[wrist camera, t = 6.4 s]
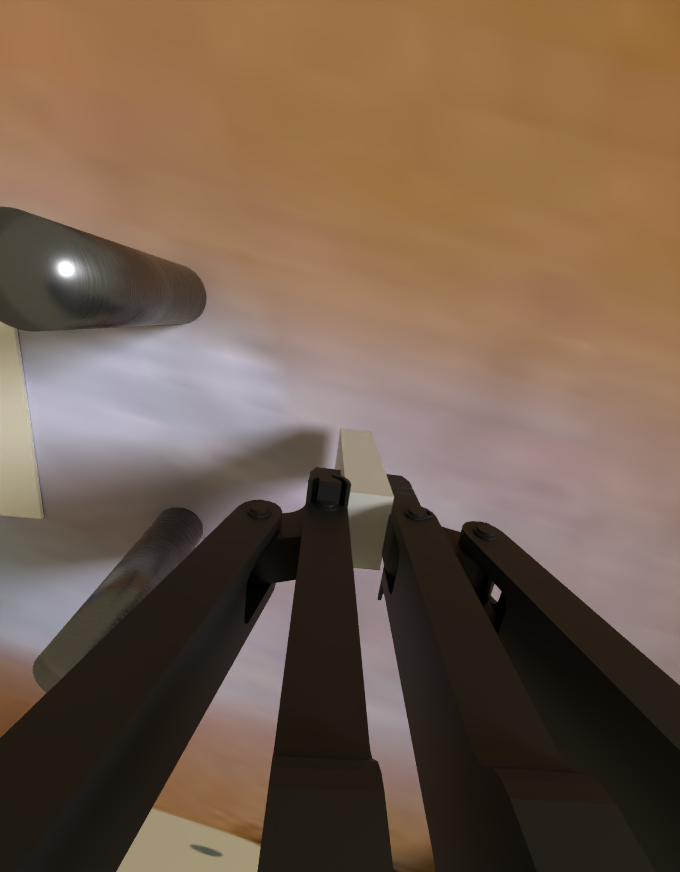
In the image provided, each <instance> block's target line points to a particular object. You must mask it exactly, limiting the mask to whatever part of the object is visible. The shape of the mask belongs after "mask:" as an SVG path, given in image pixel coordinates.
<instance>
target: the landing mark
mask: <svg viewBox="0 0 680 872" xmlns="http://www.w3.org/2000/svg"><path fill="white" fill-rule="evenodd" d="M0 515H3V516H13V517H23V518H34V519H43V518H44V513H43V506H42V499H41V492H40V485H39V478H38V470H37V463H36V456H35V449H34V442H33V435H32V428H31V421H30V414H29V407H28V400H27V393H26V386H25V379H24V372H23V365H22V358H21V351H20V344H19V337H18V330H17V329H16V328H13V327H11V326H8V325H6V324H4V323H2V322H1V321H0Z"/></svg>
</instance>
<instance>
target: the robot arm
mask: <svg viewBox="0 0 680 872" xmlns="http://www.w3.org/2000/svg"><path fill="white" fill-rule="evenodd" d="M382 557H383V562H384V569H383V574H382V579H381V584H380V589H379V593H378V600H381V598H382V595H383V594H384V595H385V601H386V606H387V611H388V617H389V622H390V627H391V633H392V638H393V643H394V649H395V654H396V659H397V665H398V670H399V675H400V680H401V686H402V691H403V696H404V702H405V707H406V712H407V718H408V723H409V728H410V734H411V739H412V744H413V750H414V755H415V760H416V766H417V771H418V776H419V782H420V787H421V792H422V798H423V803H424V808H425V814H426V819H427V824H428V830H429V835H430V840H431V846H432V851H433V856H434V863H435V872H680V685H679V684H677V683H676V682H675V681H674V680H673V679H672V678H670V677H669V676H668V675H667V674H666V673H665V672H663V671H662V670H661V669H660V668H659V667H658V666H657V665H655V664H654V663H653V662H652V661H651V660H650V659H648V658H647V657H646V656H645V655H644V654H643V653H642V652H640V651H639V650H638V649H637V648H636V647H635V646H633V645H632V644H631V643H630V642H629V641H628V640H627V639H625V638H624V637H623V636H622V635H621V634H620V633H618V632H617V631H616V630H615V629H614V628H613V627H612V626H610V625H609V624H608V623H607V622H606V621H605V620H603V619H602V618H601V617H600V616H599V615H598V614H597V613H595V612H594V611H593V610H592V609H591V608H590V607H588V606H587V605H586V604H585V603H584V602H583V601H582V600H580V599H579V598H578V597H577V596H576V595H575V594H573V593H572V592H571V591H570V590H569V589H568V588H567V587H565V586H564V585H563V584H562V583H561V582H560V581H558V580H557V579H556V578H555V577H554V576H553V575H552V574H550V573H549V572H548V571H547V570H546V569H545V568H543V567H542V566H541V565H540V564H539V563H538V562H537V561H535V560H534V559H533V558H532V557H531V556H530V555H528V554H527V553H526V552H525V551H524V550H523V549H522V548H520V547H519V546H518V545H517V544H516V543H515V542H513V541H512V540H511V539H510V538H509V537H508V536H507V535H505V534H504V533H503V532H502V531H500V530H499V529H497V528H496V527H493V526H491V525H490V524H488V523H484V522H475V521H471V522H466V523H465V524H464V525H463V527H462V530H461V532H458V531H455V530H451V529H447V528H445V527H442V526H441V525H440V523H439V521H438V519H437V517H436V516H435V515H434V514H433V512H431V511H429V510H428V509H426V508H423V507H421V505H420V503H419V501H418V499H417V497H416V495H415V493H414V491H413V490H412V486H411V484H410V482H409V481H407V480H406V479H405V478H404V477H403V476H397V475H389V474H386V472H385V469H384V467H383V464H382V461H381V458H380V455H379V452H378V449H377V447H376V444H375V441H374V438H373V435H372V432H368V431H359V430H351V429H343V428H341V429H340V436H339V443H338V450H337V458H336V465H335V469H327V468H318V467H316V468H315V469H313V470H312V471H311V472H310V478H309V480H308V489H307V497H306V504H305V506H304V507H303V508H302V509H300V510H298V511H295V512H290V513H282V510H281V508H280V507H279V506H278V505H277V504H275V503H272V502H270V501H264V500H252V501H248V502H245V503H243V504H241V505H240V506H238V507H237V508H236V509H235V510H234V511H233V512H232V513H231V514H230V515H229V516H228V517H227V518H226V519H225V520H224V521H223V522H222V523H221V524H220V525H219V526H218V527H217V528H216V529H215V530H213V531H212V532H211V533H210V534H209V535H208V536H207V537H206V538H205V539H204V540H203V541H202V542H201V543H200V544H199V545H198V546H197V547H196V548H195V549H194V550H193V551H192V552H191V553H190V554H189V555H188V556H187V557H186V558H185V559H184V560H183V561H182V562H181V563H180V564H179V565H178V566H177V567H176V568H174V569H173V570H172V571H171V572H170V573H169V574H168V575H167V576H166V577H165V578H164V579H163V580H162V581H161V582H160V583H159V584H158V585H157V586H156V587H155V588H154V589H153V590H152V591H151V592H150V593H149V594H148V595H147V596H146V597H145V598H144V599H143V600H142V601H141V602H140V603H139V604H138V605H137V606H136V607H134V608H133V609H132V610H131V611H130V612H129V613H128V614H127V615H126V616H125V617H124V618H123V619H122V620H121V621H120V622H119V623H118V624H117V625H116V626H115V627H114V628H113V629H112V630H111V631H110V632H109V633H108V634H107V635H106V636H105V637H104V638H103V639H102V640H101V641H100V642H99V643H98V644H97V645H95V646H94V647H93V648H92V649H91V650H90V651H89V652H88V653H87V654H86V655H85V656H84V657H83V658H82V659H81V660H80V661H79V662H78V663H77V664H76V665H75V666H74V667H73V668H72V669H71V670H70V671H69V672H68V673H67V674H66V675H65V676H64V677H63V678H62V679H61V680H60V681H59V682H58V683H57V684H55V685H54V686H53V687H52V688H51V689H50V690H49V691H48V692H47V693H46V694H45V695H44V696H43V697H42V698H41V699H40V700H39V701H38V702H37V703H36V704H35V705H34V706H33V707H32V708H31V709H30V710H29V711H28V712H27V713H26V714H25V715H24V716H23V717H22V718H21V719H20V720H19V721H18V722H16V723H15V724H14V725H13V726H12V727H11V728H10V729H9V730H8V731H7V732H6V733H5V734H4V735H3V736H2V737H1V738H0V872H116V871H117V869H118V867H119V865H120V864H121V862H122V860H123V858H124V857H125V855H126V853H127V851H128V850H129V848H130V846H131V844H132V842H133V841H134V839H135V837H136V835H137V834H138V832H139V830H140V828H141V826H142V825H143V823H144V821H145V819H146V818H147V816H148V814H149V812H150V810H151V809H152V807H153V805H154V803H155V801H156V800H157V798H158V796H159V794H160V793H161V791H162V789H163V787H164V785H165V784H166V782H167V780H168V778H169V776H170V775H171V773H172V771H173V769H174V768H175V766H176V764H177V762H178V760H179V759H180V757H181V755H182V753H183V752H184V750H185V748H186V746H187V744H188V743H189V741H190V739H191V737H192V735H193V734H194V732H195V730H196V728H197V727H198V725H199V723H200V721H201V719H202V718H203V716H204V714H205V712H206V711H207V709H208V707H209V705H210V703H211V702H212V700H213V698H214V696H215V694H216V693H217V691H218V689H219V687H220V686H221V684H222V682H223V680H224V678H225V677H226V675H227V673H228V671H229V669H230V668H231V666H232V664H233V662H234V661H235V659H236V657H237V655H238V653H239V652H240V650H241V648H242V646H243V645H244V643H245V641H246V639H247V637H248V636H249V634H250V632H251V630H252V628H253V627H254V625H255V623H256V621H257V620H258V618H259V616H260V614H261V612H262V611H263V609H264V607H265V605H266V603H267V602H268V600H269V598H270V596H271V595H272V593H273V591H274V588H275V584H276V583H277V582H283V581H290V580H296V583H295V591H294V599H293V606H292V614H291V622H290V630H289V637H288V645H287V653H286V661H285V668H284V676H283V684H282V692H281V699H280V707H279V715H278V723H277V730H276V738H275V746H274V753H273V758H272V765H271V773H270V780H269V788H268V795H267V803H266V811H265V818H264V826H263V834H262V841H261V849H260V857H259V865H258V872H393V863H392V855H391V846H390V837H389V828H388V820H387V811H386V802H385V793H384V787H383V780H382V774H381V770H380V767H379V764H378V762H377V761H376V760H374V759H372V756H371V752H370V744H369V734H368V723H367V712H366V701H365V691H364V680H363V669H362V658H361V647H360V636H359V625H358V615H357V604H356V593H355V582H354V571H353V568H363V569H373V570H380V565H381V560H382ZM494 583H495V584H496V586H497V587H498V588H499V589H500V590H501V591H502V592H501V595H500V598H499V600H498V602H497V601H496V600H494V598H493V597H492V596H491V593H492V590H493V586H494Z"/></svg>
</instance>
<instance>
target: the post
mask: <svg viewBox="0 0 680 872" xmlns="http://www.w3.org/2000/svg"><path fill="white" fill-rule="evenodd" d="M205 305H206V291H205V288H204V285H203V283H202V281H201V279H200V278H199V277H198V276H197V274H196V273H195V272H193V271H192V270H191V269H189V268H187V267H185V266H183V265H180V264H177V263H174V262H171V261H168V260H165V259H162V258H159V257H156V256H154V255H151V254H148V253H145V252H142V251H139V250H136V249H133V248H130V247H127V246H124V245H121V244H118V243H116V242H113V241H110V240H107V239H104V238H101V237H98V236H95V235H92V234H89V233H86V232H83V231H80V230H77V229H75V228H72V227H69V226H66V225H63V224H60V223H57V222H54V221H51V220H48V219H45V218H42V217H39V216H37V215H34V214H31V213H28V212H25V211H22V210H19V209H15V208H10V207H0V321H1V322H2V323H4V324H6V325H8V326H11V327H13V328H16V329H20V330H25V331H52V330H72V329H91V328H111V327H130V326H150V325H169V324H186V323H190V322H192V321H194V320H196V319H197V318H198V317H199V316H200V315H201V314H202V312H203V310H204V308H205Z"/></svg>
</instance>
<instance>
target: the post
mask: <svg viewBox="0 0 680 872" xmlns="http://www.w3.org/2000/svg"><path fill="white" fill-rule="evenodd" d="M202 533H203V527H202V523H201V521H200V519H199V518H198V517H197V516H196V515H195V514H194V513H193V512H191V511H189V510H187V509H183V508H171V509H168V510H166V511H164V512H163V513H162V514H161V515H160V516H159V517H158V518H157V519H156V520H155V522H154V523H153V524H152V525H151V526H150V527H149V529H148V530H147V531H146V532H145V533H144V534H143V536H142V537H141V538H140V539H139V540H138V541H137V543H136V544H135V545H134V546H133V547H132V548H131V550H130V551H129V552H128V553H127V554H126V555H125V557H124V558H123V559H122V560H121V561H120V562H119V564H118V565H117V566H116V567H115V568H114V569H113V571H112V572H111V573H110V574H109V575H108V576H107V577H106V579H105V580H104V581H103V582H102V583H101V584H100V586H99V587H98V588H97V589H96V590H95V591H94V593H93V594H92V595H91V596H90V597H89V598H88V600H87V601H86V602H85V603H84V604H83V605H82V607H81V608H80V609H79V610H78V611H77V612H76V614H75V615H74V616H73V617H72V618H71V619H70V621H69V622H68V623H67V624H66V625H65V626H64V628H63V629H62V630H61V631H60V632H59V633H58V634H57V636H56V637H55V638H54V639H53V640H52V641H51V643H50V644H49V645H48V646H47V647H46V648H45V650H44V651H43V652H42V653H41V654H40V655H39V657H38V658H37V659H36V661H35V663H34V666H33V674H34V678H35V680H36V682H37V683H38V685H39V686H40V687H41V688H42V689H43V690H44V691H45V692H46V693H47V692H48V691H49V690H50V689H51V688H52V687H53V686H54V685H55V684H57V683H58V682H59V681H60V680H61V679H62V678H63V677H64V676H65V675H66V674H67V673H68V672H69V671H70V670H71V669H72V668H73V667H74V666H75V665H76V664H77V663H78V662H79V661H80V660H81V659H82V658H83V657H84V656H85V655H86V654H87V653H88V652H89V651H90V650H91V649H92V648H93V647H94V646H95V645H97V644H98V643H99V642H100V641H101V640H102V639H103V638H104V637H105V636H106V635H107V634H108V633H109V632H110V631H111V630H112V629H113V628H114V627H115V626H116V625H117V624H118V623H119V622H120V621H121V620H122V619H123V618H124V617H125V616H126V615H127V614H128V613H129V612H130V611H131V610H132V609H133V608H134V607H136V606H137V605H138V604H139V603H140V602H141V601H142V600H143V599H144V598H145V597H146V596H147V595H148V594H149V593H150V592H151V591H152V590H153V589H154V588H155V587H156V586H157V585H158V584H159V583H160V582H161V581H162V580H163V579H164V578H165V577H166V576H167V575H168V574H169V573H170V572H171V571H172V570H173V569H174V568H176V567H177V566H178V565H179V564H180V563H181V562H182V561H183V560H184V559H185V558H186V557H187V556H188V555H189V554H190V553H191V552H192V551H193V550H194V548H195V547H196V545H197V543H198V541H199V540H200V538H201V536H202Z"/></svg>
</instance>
